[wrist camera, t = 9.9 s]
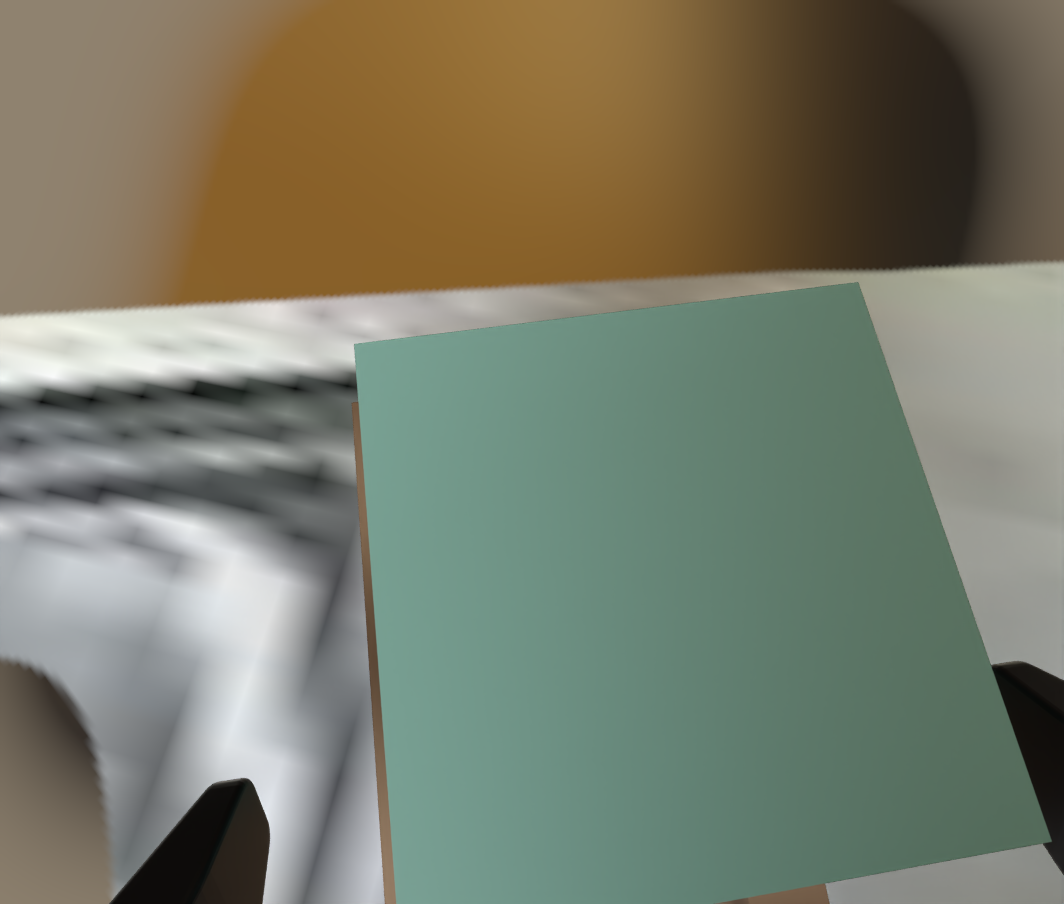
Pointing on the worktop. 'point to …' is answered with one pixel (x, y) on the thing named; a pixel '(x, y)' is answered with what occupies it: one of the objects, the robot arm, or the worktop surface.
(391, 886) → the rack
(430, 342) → the block
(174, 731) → the worktop surface
